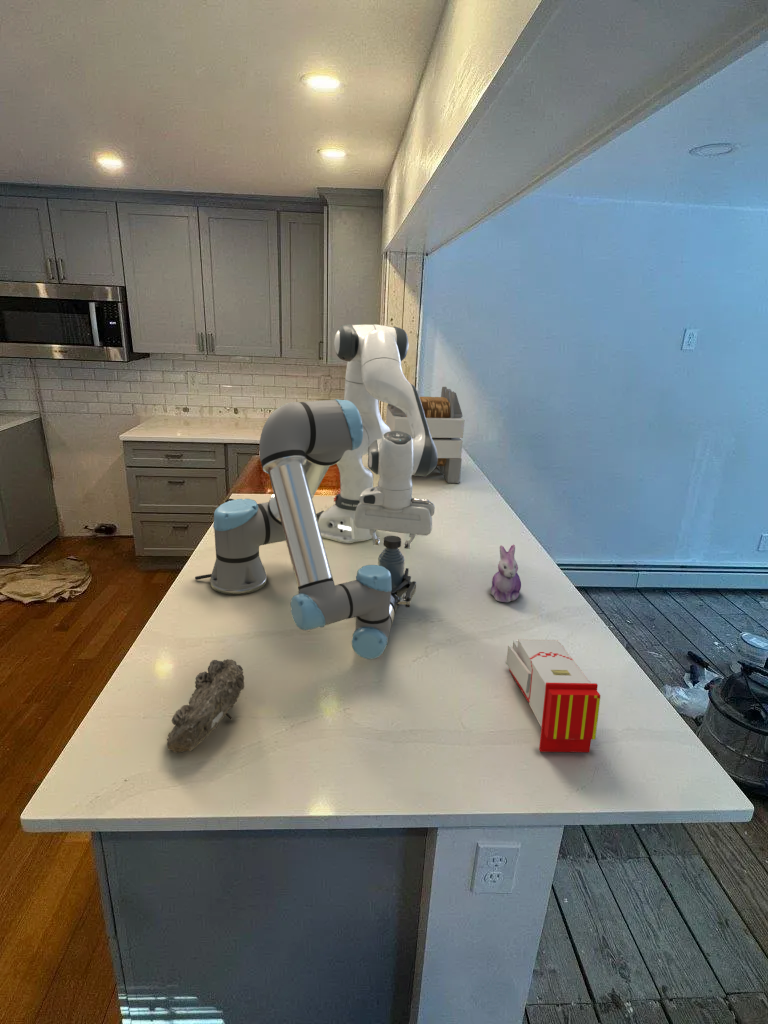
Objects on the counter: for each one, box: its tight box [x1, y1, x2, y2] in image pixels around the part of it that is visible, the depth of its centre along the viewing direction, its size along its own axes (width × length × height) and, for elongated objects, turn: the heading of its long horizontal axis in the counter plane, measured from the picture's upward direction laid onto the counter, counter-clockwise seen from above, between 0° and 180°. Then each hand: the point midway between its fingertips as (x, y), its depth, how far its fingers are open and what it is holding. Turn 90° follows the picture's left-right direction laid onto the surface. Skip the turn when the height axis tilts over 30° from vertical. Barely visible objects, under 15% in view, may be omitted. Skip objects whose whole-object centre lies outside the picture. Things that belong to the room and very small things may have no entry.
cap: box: [382, 535, 402, 549], centre depth 149 cm, size 5×5×2 cm
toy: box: [505, 638, 602, 753], centre depth 114 cm, size 12×13×30 cm
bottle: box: [377, 547, 406, 599], centre depth 152 cm, size 7×7×18 cm
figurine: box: [490, 544, 522, 603], centre depth 157 cm, size 9×10×15 cm
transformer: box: [385, 386, 465, 484], centre depth 268 cm, size 34×33×41 cm
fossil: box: [166, 658, 245, 754], centre depth 106 cm, size 22×10×15 cm
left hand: (392, 571), depth 157 cm, fingers closed on bottle, 7 cm apart
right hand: (391, 546), depth 149 cm, fingers open, 7 cm apart
